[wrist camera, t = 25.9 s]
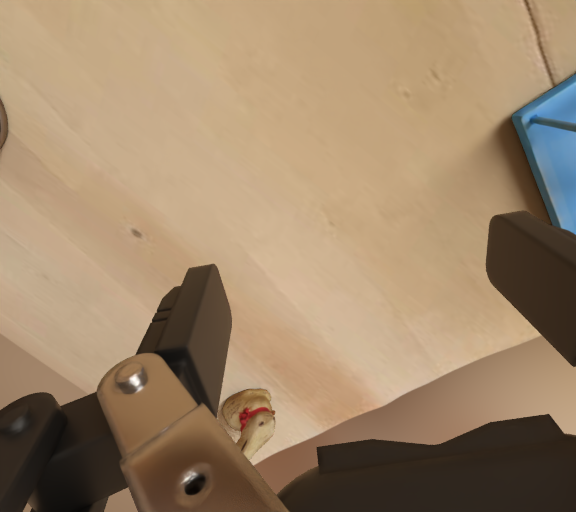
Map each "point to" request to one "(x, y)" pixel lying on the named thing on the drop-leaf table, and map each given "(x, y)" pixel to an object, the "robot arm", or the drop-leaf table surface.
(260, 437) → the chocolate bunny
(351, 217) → the drop-leaf table surface
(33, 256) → the drop-leaf table surface
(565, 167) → the file sorter
